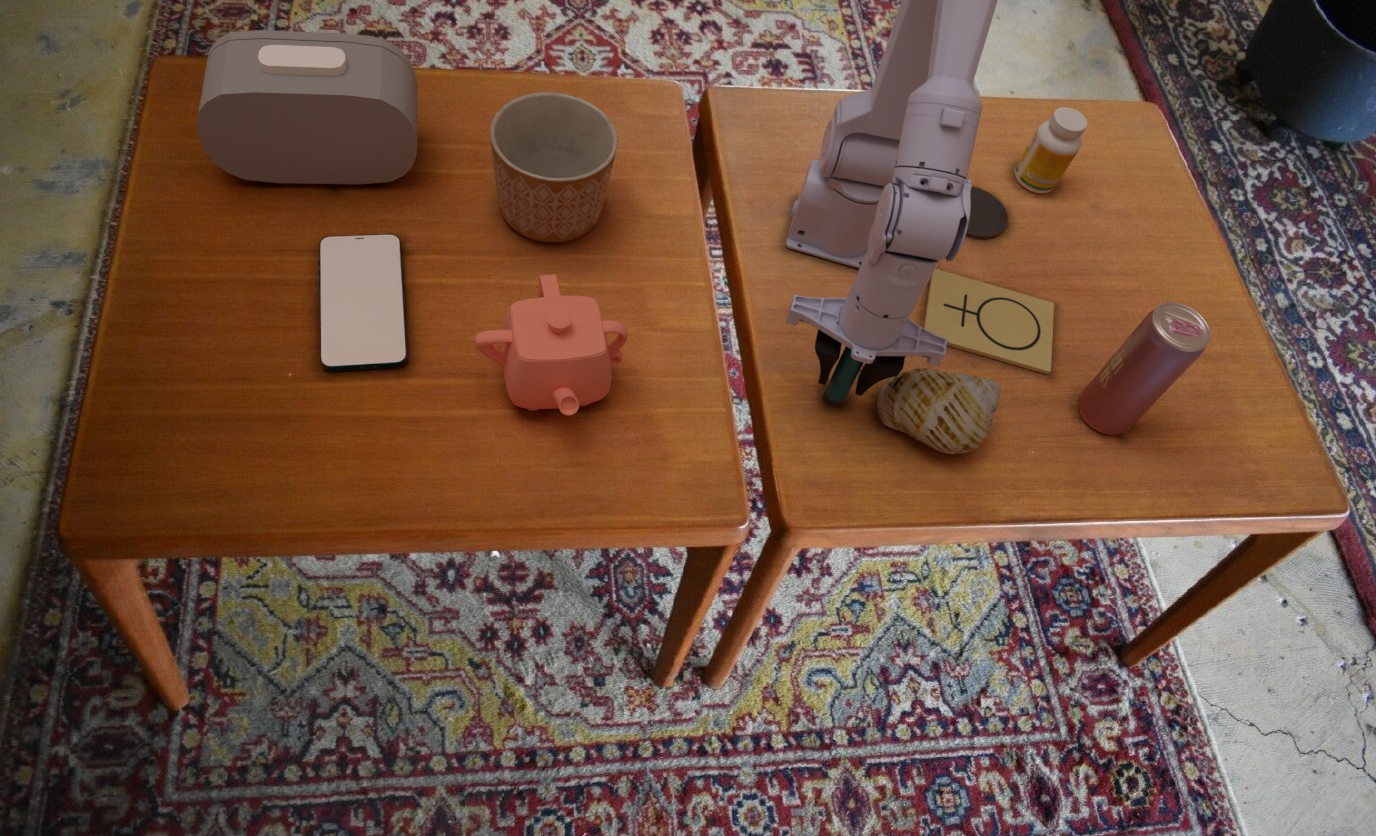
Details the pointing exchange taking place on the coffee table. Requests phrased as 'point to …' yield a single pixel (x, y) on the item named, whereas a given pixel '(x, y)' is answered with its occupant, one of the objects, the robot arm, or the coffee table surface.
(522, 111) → the planter
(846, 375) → the dark green cylinder
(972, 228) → the coaster
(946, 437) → the seashell
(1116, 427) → the beverage can
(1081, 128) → the supplement bottle
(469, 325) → the coffee table surface
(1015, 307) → the sign with female symbol
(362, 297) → the smartphone
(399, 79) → the alarm clock
